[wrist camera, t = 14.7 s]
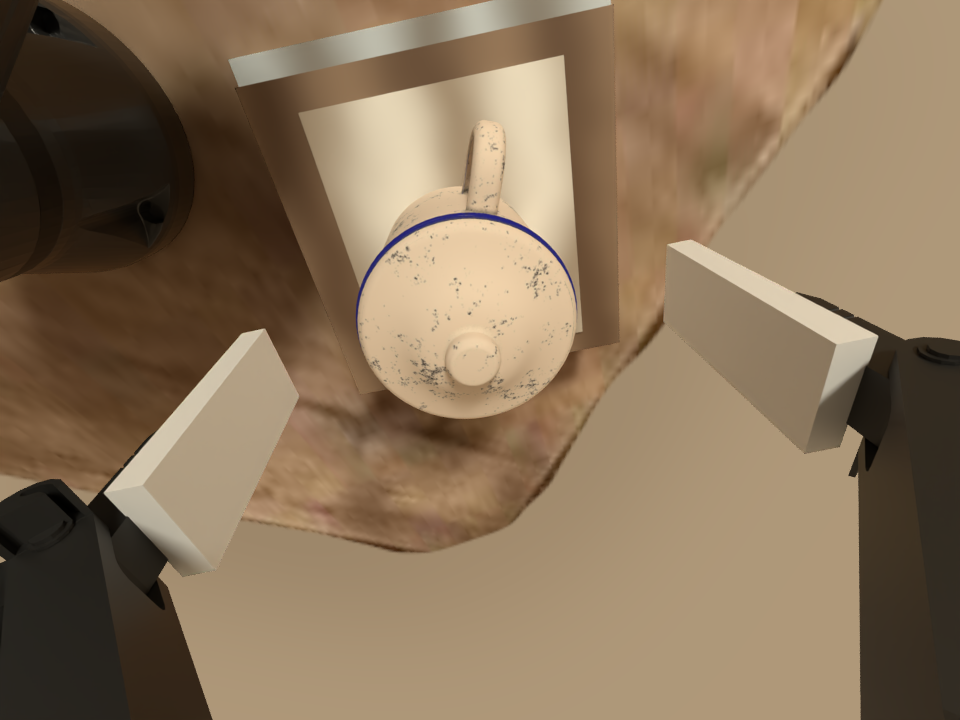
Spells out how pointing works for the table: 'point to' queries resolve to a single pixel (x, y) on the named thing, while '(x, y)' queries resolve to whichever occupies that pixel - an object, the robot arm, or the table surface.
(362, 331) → the teacup with lid
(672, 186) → the table surface
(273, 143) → the plinth
